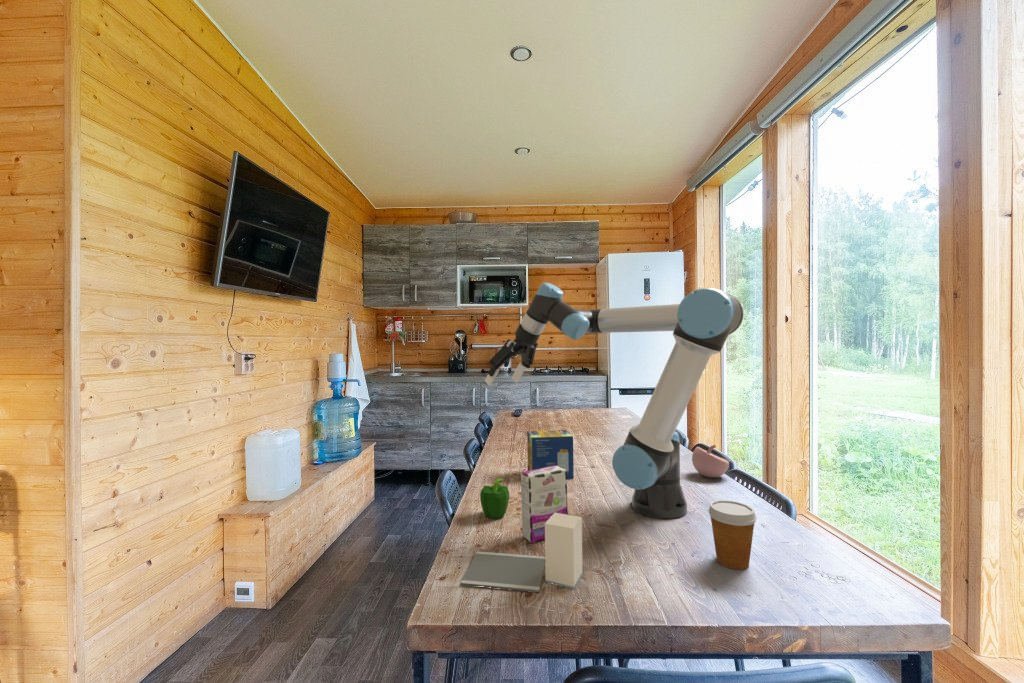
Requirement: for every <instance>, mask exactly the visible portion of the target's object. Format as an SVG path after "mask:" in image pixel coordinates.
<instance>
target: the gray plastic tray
mask: <svg viewBox="0 0 1024 683" xmlns="http://www.w3.org/2000/svg"><path fill="white" fill-rule="evenodd" d="M544 571H545V556H543V555H541V556H540V555H528V554H516V553H515V554H513V553H503V552H488V551H476V552H475V555H474V557H473V558H472V560H471V562H470V564H469V566H468V568H467V570H466V572H465V573H464V575H463V578H462V579H461V580H460V582H459V583H460V586H461V585H462V586H461V587H469V586H484V587H491V588H500V589H499V590H502V589H511V590H510V591H513V590H519V591H518V592H524V591H530V592H529V593H535V592H539V591H540V592H541V587H542V583H543V582H542V580H543V578H544ZM540 586H541V587H540ZM491 588H490V589H491ZM540 592H539V593H540Z"/></svg>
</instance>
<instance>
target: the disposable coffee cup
mask: <svg viewBox="0 0 1024 683" xmlns="http://www.w3.org/2000/svg"><path fill="white" fill-rule="evenodd" d="M707 511H708V512H707V513H708V515H709V516H710V522H711V528H712V536H713V542H714V548H715V556H716V561H717V563H719V564H720V565H721V566H723V567H726V568H729V569H732V570H746V569H748V568H749V566H750V560H751V553H752V551H751V550H752V545H753V538H754V537H753V536H754V528H755V523H756V521H757V520H758V516H757V515H756V512H755V509H754V508H753V507H751V506H750V505H749V504H747V503H742V502H739V501H733V500H725V499H724V500H722V499H721V500H714V501H711V503H710V504H709V508H708V509H707Z"/></svg>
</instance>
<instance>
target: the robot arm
mask: <svg viewBox="0 0 1024 683" xmlns="http://www.w3.org/2000/svg"><path fill="white" fill-rule="evenodd" d="M563 295H564V291H563V290H562V289H561V288H559V287H558V286H557V285H555V284H553V283H549V282H542V283H541V285H540V286H539V287H538V288H537V291H536V292H535V293H534V296H533V299H532V301H531V303H530V305H529V307H528V309H527V310H526V312H525V314H524V315H523V317H522V319H521V321H520V324H519V325H518V327H517V328H516V330H515V333H514V336H515V338H514V340H513V341H512V340H511V339H507V340H506V341H505V343H504V344H503V345H502V347H501V348H500V349H499V350H498V351H497V352H496V353H495V354H494V356H492V357H491V359H490V360H489V361H488V364H489V365H490V368H489V370H488V372H487V375H486V377H485V379H484V382H485V383H486V384H487V385H488V386H489V387H491V386H492V384H493V383H494V381H495V380H496V377H497V375H498V373H499V372H500V368H501V367H502V366H503V365H505V364H506V363H507V362H508V361H509V360H510V359H512V357H513V358H514V357H516V356H517V355H520V360H521V362H519V363H518V365H517V367H516V369H515V370H514V372H513V374H512V376H511V379H512V380H513V381H514V383H519V381H520V379H521V378H522V375H524V372H525V371H526V369H530V367H531V366H533V364H534V359H535V355H536V350H537V347H538V345H539V343H538V340H539V339H540V337H541V334H542V333H543V332H544V330H545V328H546V326H547V325H548V323H550V324H552V326H554V327H555V328H557V329H558V330H559V331H560V332H561V333H562V334H564V335H565V337H566V336H567V337H568V338H570V339H571V340H575V341H577V340H579V339H581V338H582V337H584V335H585V334H587V335H588V334H590V335H591V334H592V335H594V334H602V333H603V334H605V333H607V334H608V333H609V334H610V333H644V332H645V333H647V332H672V336H673V338H674V340H675V343H674V346H673V348H672V350H671V352H670V355H669V356H668V359H667V361H666V363H665V366H664V368H663V371H662V373H661V374H660V377H659V379H658V382H657V383H656V385H655V387H654V388H655V389H654V390H653V392H652V395H651V397H650V399H649V401H648V404H647V405H646V408H645V410H644V413H643V414H642V417H641V419H640V422H639V423H638V424H637V425H633V426H632V427H630V429H629V432H628V434H627V436H626V438H625V440H624V443H623V445H620V446H619V447H617V448H616V450H615V451H614V453H613V455H612V458H611V459H612V460H611V463H612V469H613V470H614V473H615V476H616V477H617V479H618V480H619V481H620V482H621V483H622V484H623V485H624V486H626V487H628V488H630V489H633V494H632V497H631V507H632V509H634V510H635V511H636V512H638V514H639V513H640V514H642V515H643V516H647V517H651V518H652V517H653V518H657V519H677V518H680V517H684V516H685V515H687V513H688V503H687V500H686V498H685V494H684V490H683V489H682V485H681V469H680V468H681V464H680V463H681V462H680V461H681V459H680V457H681V447H680V446H681V441H680V435H679V433H678V432H677V431H676V430H677V428H678V426H679V424H680V422H681V419H682V418H683V415H684V413H685V411H686V408H687V406H688V405H689V403H690V401H691V398H692V396H693V395H694V392H695V389H696V388H697V386H698V384H699V381H700V379H701V378H702V375H703V373H704V371H705V369H706V367H707V365H708V362H709V361H710V359H711V357H712V356H713V355H716V354H719V353H721V351H722V349H723V347H724V345H725V343H726V341H727V339H728V337H729V336H731V335H732V334H733V333H734V332H736V331H737V330H738V329H739V328H740V326H741V324H742V322H743V320H744V309H743V306H742V304H741V302H740V301H739V300H738V299H737V298H736V296H733V295H732V294H730V293H728V292H726V291H724V290H721V289H719V288H714V287H704V288H699V289H695V290H693V291H691V292H690V293H688V294H687V295H685V297H683V298H682V300H680V303H673V304H659V305H658V304H657V305H644V306H643V305H642V306H641V305H640V306H629V307H627V306H626V307H614V308H613V307H612V308H599V309H594V308H593V309H583V308H575V307H572V306H571V305H569V304H568V303H567V302H565V301H564V300H563Z"/></svg>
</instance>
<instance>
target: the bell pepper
mask: <svg viewBox="0 0 1024 683" xmlns="http://www.w3.org/2000/svg"><path fill="white" fill-rule="evenodd" d="M503 480H504V479H503V478H497V479H496V480H495V481H494V483H493V485H491V486H490V485H484V486H483V487H482V488H481V491H480V493H479V498H480V504H481V508H482V511H483V515H484V516H485V517H486V518H491V519H494V520H496V519H497V520H499V519H501V518H504V516H505V515H506V512H507V510H508V505H509V501H510V491H509V488H508V485H502V484H500V483H502V482H503Z"/></svg>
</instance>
